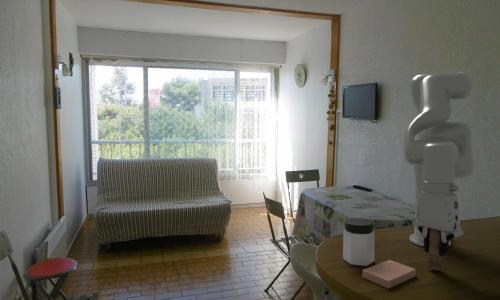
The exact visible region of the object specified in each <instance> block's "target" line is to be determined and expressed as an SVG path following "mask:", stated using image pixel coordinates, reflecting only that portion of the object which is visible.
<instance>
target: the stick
mask: <svg viewBox="0 0 500 300" xmlns="http://www.w3.org/2000/svg"><path fill="white" fill-rule="evenodd" d="M440 242H442V237H441V231H440V230H436V229H432V228H429V252H428V261H427V262H428V264H427V265H428V268H429V269H431V270H435V271H441V270H443V257H441V256H440V255H439V247H440Z"/></svg>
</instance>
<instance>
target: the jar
mask: <svg viewBox="0 0 500 300" xmlns="http://www.w3.org/2000/svg"><path fill="white" fill-rule="evenodd" d="M374 226H375V225H374V222H373V221H372V220H370V219H367V218H362V217H361V218H360V217H349V218H346V219H345V221H344V229H343V230H342V231H343V235H342V236H343V237H342V244H343V245H342V247H343V250H342V259H343V261H346V262H347V263H348V264H349V265H351V266H353V265H354V266H364V267H367V266H369V265H371V264H372V263H374V262H375V236H376V235H375V234H376V233H375V232H376V231H375V230H374Z"/></svg>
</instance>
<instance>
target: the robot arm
mask: <svg viewBox="0 0 500 300" xmlns="http://www.w3.org/2000/svg"><path fill="white" fill-rule="evenodd" d="M472 86H473V85H472V79H471V77H470V75H469V74H468V73H467V72H465V71H462V70H461V71H459V70H458V71H443V72H428V73H427V72H426V73H425V72H424V73H421V74H418V75H416V76H413V77H412V79H411V82H410V94H411V95H410V96H411V99H412V103H413V104H414V106H415V109H416V112H417V116H415V117H414V118H413V120H412V121H411V122H410V123H409V124H408V126H407V127H406V130H405V133H404V143H403V144H404V145H403V146H404V147H403V148H404V149H403V150H404V151H403V153H404V154H403V155H404V159H405V162H406V163H407V164H409V165H410V166H413V170H414V172H413V173H414V180H415V181H414V182H415V183H414V185H415V198H414V199H415V202H414V203H415V204H414V220H413V221H412V222H411V225H412V226H414V232H413V233H412V234H410V235H409V241H410V242H411V243H412V244H415V245H417V246H420V247H423V248H424V253H429V228H432V229H436V230H440V231H441V237H442V242H440V247H439V255H440V256H441V257H442V258H443V257H444V256H446V255H448V254H449V247H450V246H451V240H453V239H454V238H459V237H461V236H463V235H464V231H463V229H462V227H461V226H460V225H461V217H460V205H459V199H458V194H457V193H455V192H460V187H459V186H458V185H455V181H454V180H460V181H461V180H462V181H463V180H468V179H470V178H471V177H472V176H473V172H474V155H473V154H474V153H473V142H472V141H473V140H472V139H473V138H472V131H471V128H470V126H469V125H468V124H467V123H465V122H461V121H448V120H449V119H450V117H451V116H452V110H451V109H452V108H451V100H466V99H467V98H469V97H470V95H471V92H472ZM417 135H418V137H417V138H418V139H415V137H416V136H417Z"/></svg>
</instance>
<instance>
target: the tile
mask: <svg viewBox="0 0 500 300" xmlns="http://www.w3.org/2000/svg"><path fill="white" fill-rule="evenodd" d="M416 270H417V269H416V268H414V267H411V266H408V265H405V264H402V263H400V262H397V261H394V260H391V259H388V260H385V261H383V262H380V263H377V264H375V265H374V264H373V265H372V266H370V267H367V268H364V269H362V273H361V276H362V278H363V279H364V280H368V281H369V282H371V283H372V282H373V283H374V284H376V285H377V284H378V285H380V286H381V287H384V288H385V289H390V288H393V287H395V286H397V285H400V284H401V283H403V282H406V281H408V280H411V279H413V278H416V272H417V271H416Z"/></svg>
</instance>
